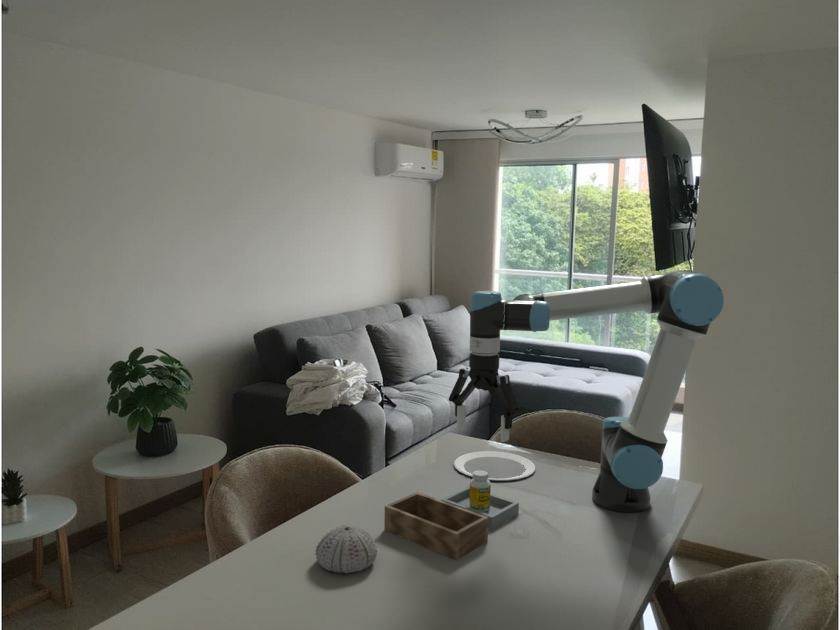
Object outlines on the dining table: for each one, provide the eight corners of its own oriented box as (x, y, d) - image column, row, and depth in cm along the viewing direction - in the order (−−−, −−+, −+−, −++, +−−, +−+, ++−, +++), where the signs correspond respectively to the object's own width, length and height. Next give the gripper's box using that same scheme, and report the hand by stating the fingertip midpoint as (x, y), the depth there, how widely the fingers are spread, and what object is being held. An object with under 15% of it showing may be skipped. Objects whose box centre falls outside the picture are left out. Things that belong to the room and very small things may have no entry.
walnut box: (487, 541, 158) (488, 517, 158) (456, 560, 149) (456, 534, 149) (416, 514, 173) (417, 491, 172) (384, 529, 164) (384, 506, 163)
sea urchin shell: (304, 559, 149) (304, 525, 148) (357, 543, 157) (357, 510, 156) (335, 585, 138) (335, 548, 137) (389, 566, 146) (390, 531, 145)
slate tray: (518, 513, 174) (518, 502, 173) (491, 529, 165) (492, 517, 164) (468, 496, 184) (468, 486, 184) (440, 510, 175) (441, 499, 175)
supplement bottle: (481, 502, 178) (482, 467, 177) (494, 509, 174) (495, 474, 172) (465, 507, 175) (465, 471, 174) (477, 514, 171) (478, 478, 169)
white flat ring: (548, 464, 211) (548, 460, 211) (514, 490, 190) (514, 486, 190) (477, 449, 224) (477, 445, 224) (438, 471, 204) (438, 467, 203)
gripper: (436, 348, 174) (435, 428, 177) (518, 362, 158) (515, 449, 161) (454, 344, 180) (452, 422, 183) (535, 357, 164) (532, 442, 167)
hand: (482, 435), depth 172 cm, fingers open, 13 cm apart
